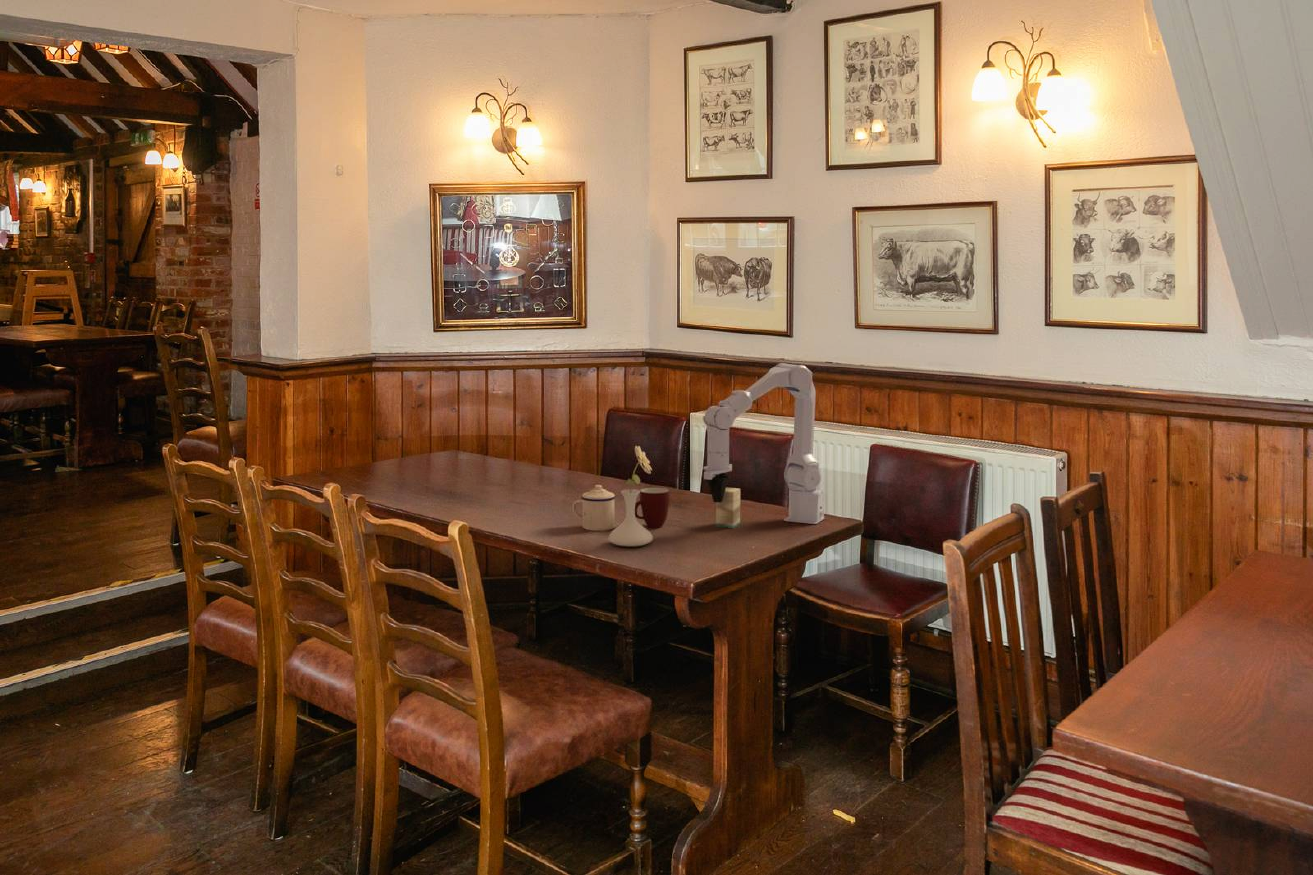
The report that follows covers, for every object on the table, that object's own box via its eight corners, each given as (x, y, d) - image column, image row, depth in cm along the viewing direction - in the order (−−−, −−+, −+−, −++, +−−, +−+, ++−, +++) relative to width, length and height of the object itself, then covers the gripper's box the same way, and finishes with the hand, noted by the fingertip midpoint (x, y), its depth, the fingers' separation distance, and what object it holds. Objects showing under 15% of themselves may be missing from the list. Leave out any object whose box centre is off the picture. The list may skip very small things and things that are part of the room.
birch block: (739, 524, 300) (740, 488, 298) (733, 528, 295) (733, 491, 294) (723, 522, 302) (723, 487, 301) (716, 526, 298) (716, 490, 296)
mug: (643, 532, 290) (643, 495, 289) (626, 526, 297) (626, 490, 295) (675, 527, 296) (675, 491, 295) (658, 521, 303) (658, 486, 302)
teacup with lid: (619, 525, 299) (619, 483, 297) (608, 532, 290) (608, 489, 289) (579, 522, 303) (578, 481, 301) (566, 529, 294) (566, 487, 292)
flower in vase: (637, 552, 270) (636, 452, 266) (599, 546, 276) (598, 448, 272) (664, 541, 281) (664, 445, 277) (627, 536, 286) (627, 441, 283)
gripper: (715, 446, 297) (714, 495, 299) (693, 454, 284) (693, 505, 286) (739, 448, 294) (738, 497, 296) (718, 456, 281) (717, 508, 283)
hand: (717, 501), depth 291 cm, fingers closed
